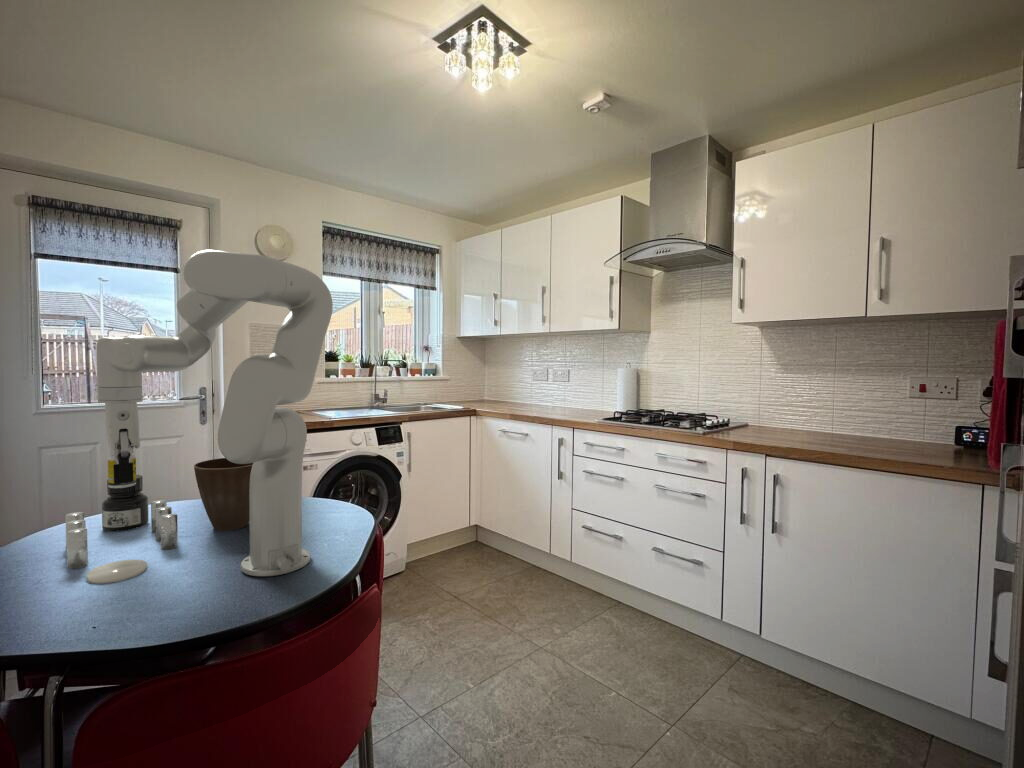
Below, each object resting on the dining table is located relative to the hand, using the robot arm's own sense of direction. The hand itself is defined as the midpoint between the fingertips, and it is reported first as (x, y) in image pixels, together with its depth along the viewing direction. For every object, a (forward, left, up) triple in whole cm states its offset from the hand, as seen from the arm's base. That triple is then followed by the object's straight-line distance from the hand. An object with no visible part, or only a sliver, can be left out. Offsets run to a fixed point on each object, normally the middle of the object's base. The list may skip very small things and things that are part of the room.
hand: (122, 479), depth 106 cm
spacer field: (+2, 0, -15) cm, 15 cm away
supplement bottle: (0, 0, -2) cm, 2 cm away
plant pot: (+2, -21, -15) cm, 26 cm away
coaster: (-14, +2, -15) cm, 21 cm away
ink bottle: (+18, -2, -15) cm, 23 cm away
